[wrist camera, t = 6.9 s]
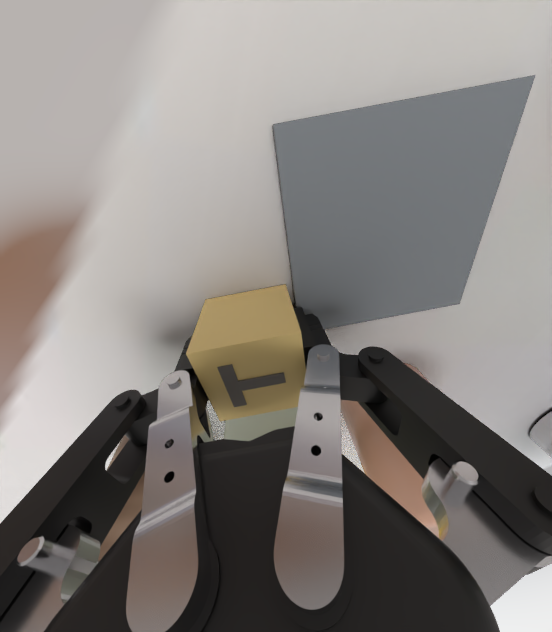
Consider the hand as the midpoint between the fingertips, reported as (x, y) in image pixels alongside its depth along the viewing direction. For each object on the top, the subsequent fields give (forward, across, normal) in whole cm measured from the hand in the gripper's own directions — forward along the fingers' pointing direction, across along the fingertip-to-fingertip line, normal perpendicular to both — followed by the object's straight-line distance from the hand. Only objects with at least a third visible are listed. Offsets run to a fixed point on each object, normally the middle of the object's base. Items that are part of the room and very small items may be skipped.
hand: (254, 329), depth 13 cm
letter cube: (+1, 0, 0) cm, 1 cm away
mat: (+1, -8, -4) cm, 9 cm away
